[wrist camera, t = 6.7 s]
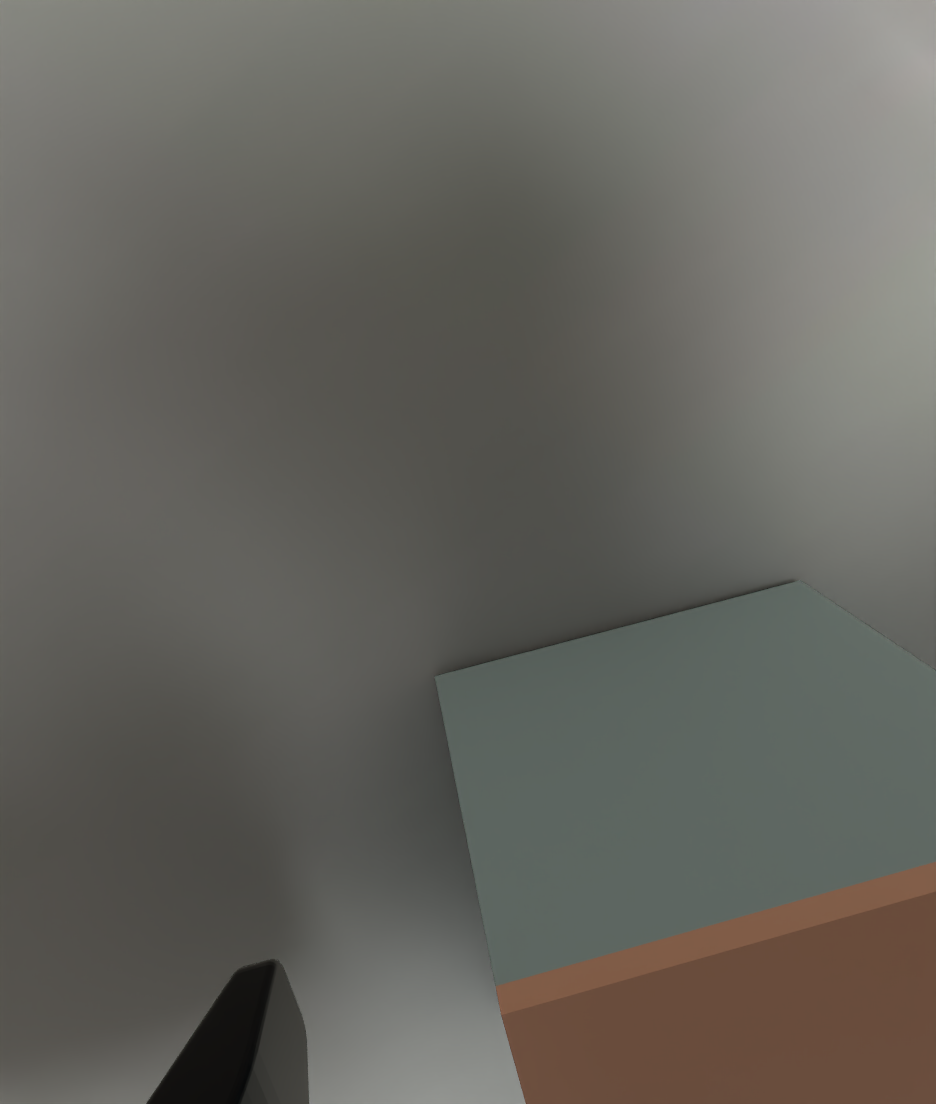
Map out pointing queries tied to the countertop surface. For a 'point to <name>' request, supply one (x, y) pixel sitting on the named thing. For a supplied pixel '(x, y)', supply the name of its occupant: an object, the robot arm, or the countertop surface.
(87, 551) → the countertop surface
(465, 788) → the teal and orange block
